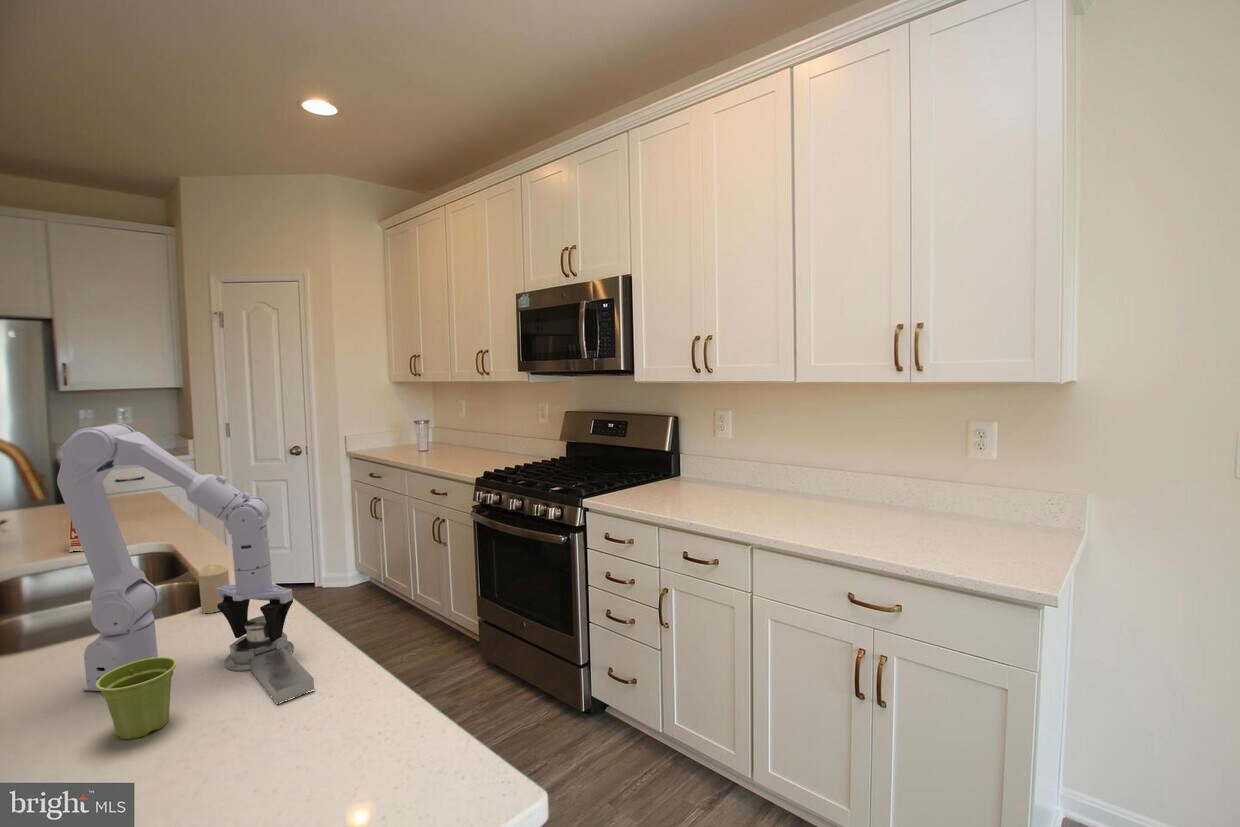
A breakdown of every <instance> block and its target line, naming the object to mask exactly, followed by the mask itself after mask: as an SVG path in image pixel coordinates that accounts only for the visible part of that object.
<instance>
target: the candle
mask: <svg viewBox="0 0 1240 827" xmlns="http://www.w3.org/2000/svg"><path fill="white" fill-rule="evenodd" d="M197 574H198V575H197V576H198V587H199V597H200V599H199V600H200V607H201V612H205V613H211V614H214V613H213V612H217V611H220V610H219V609H218V607H217V605H218V604H219V603H221V602H223V600H224V599H218V590H217V589H218V588H220V587H223V586H225V585H230V576H229V568H228V567H227V566H224V565H222V564H207V565H205V566H204V567H203V568H202V569H201V571H200V572H199V573H197ZM205 613H204V614H205ZM217 613H218V612H217Z"/></svg>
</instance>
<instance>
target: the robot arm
mask: <svg viewBox="0 0 1240 827" xmlns="http://www.w3.org/2000/svg"><path fill="white" fill-rule="evenodd" d="M60 451H61V453H62V458H61V463H60V467H59V470H58V474H57V480H56V483H57V486H58V490H59V492H60V494H61V497H62V499H63V502H64V505H65V508H66V510H67V513H68V515H69V519H70V518H71V520H72V523H73V526H74V528H75V531H76V533H77V536H78V538H79V541H80V544H81V546H82V549H83V551H84V552H83V553H84V556H85V559H86V562H87V564H88V566H89V569H90V572H91V574H92V577H93V579H94V582H93V586H92V589H91V592H90V595H89V599H90V603H91V605H92V611H91V613H90V614H91V615H90V621H91V623H92V625H93V627H94V628H95V629H96V630H97V631H98V632H101V633H100V634H99V636H98V637H97V638H96V639H95V640H94V641H91V643H89V644H88V645H87V646H86V648H85V650H84V653H83V660H84V661H83V662H84V669H85V671H84V672H85V679H86V685H84V686H83V687H82V690H83V691H92V692H93V691H94V692H95V691H96V692H97V691H98V692H101V691H100V690H98V689H97V688H96V682H97V680H98V679H99V678H101V677H102V676H103V675H105V674H106V673H108V672H110V671H112V670H114V669H116V668H118V667H121V666H123V665H126V664H129V663H132V662H135V661H139V660H144V659H148V658H155V657H159V654H158V645H157V644H158V643H157V634H156V633H157V632H156V623H155V615H154V614H153V609H154V608H155V606H156V605H157V603H158V602H159V595H160V594H159V591H158V589H157V587H156V586H155V585H154V584H153V583H151V581H149V580H148V579H147V577H146V574H145V571H143V570H142V569H140V568H138V567H136V566H135V565H134V563H133V561H132V558H131V556H130V553H129V550H128V548H127V545H126V542H125V539H124V537H123V535H122V532H121V528H120V527H119V524H118V521H117V518H116V515H115V513H114V510H113V508H112V507H113V506H112V505H111V502H110V500H109V497H108V494H107V492H106V489H105V487H104V484H103V482H104V480H105V479H106V478H107V476H109V474H110V473H111V471H112V470H113V469H114V467H115V466H139V467H142V468H144V469H146V470H148V471H150V472H151V473H153V474H155V475H156V476H159V477H161V478H163V479H164V480H167V481H168V482H170V483H172V484H173V485H176V486H177V487H179V488H181V489H183V490H184V491H185V493H186V494H185V495H186V499H187V501H188V502H190V503H191V504H192V505H195V506H196V507H198V508H200V509H201V510H203V511H204V512H206V513H208V514H210V515H211V516H213V517H215V518H216V519H218V520H220V521H223V523H224V527H225V529H226V530H227V531H228V533H230V534H231V541H232V542H231V548H232V549H231V550H232V562H233V571H234V572H233V573H234V584H229V585H225V586H223V587H220V588H218V589H217V590H218V599H224V600H223V602H221V603H219V604H218V605H217V607H218V609H219V610H220V611H221V612H220V613H222V614H223V616H224V617H225V619H226V621H227V622H228V623H229V624H228V625H229V626H230V628H231V631H232V633H233V636H234V638H235V639H239V638H241V637H243V636H246V635H247V631H246V629H245V627H244V624H245V622H247V621H248V620H249V618H248V616H249V615H248V613H249V607H250V600H254V601H255V600H256V601H268V602H267V603H266V604H263V605H262V606H260V607H259V610H260V611H261V613H262V616H264V617H265V620H266V623H267V629H268V636H269V639H270V641H275V640H277V639H279V638H280V637H282V631H283V632H284V627H285V621H286V618H287V615H288V612H289V611H290V608H291V606H292V605H293V602H294V597H293V589H292V588H287V587H282V586H280V585H276V584H274V583H273V576H272V565H271V564H272V563H271V553H270V552H271V551H270V539H269V536H268V535H269V534H268V525H267V524H266V523H267V522H268V520H269V518H270V515H271V510H270V506H269V505H268V503H267V502H265V501H264V499H263V498H261V497H260V496H259V497H258V496H251V494H250V493H249V492H248V491H245V492H243V491H241V490H239V489H237V488H236V487H234V486H233V485H231V484H229V483H228V482H227V477H225V476H224V475H222V474H220V475H218V476H217V475H216V474H214V473H207V474H200V473H198V472H197V471H195V470H194V469H192V468H191V467H190V466H188V465H187V464H186V463H184V462H182V461H181V460H180V459H178V457H176V456H174V455H172V454H171V453H170V452H168V451H167V450H165V449H164V448H162V447H161V446H159V445H158V444H157V443H155V442H154V441H152V439H150V438H149V437H148V436H147V435H146V434H144V433H142V432H139V431H135V429H133V428H132V427H131V426H129V425H127V424H125V423H120V422H112V423H108V424H106V425H99V426H94V427H92V426H90V427H84V428H80V429H78V430H76V431H75V432H73V433H72V434H71V435H70V436H69V437H68V439H67V440H66V441H65V442H64V443H62V445H61V446H60Z"/></svg>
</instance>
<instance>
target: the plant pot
mask: <svg viewBox="0 0 1240 827" xmlns="http://www.w3.org/2000/svg"><path fill="white" fill-rule="evenodd" d="M176 668H177V660H176V659H175V658H174V657H170V656H169V657H167V656H158V657H155V658H148V659H144V660H139V661H135V662H132V663H129V664H126V665H123V666H121V667H118V668H116V669H114V670H112V671H110V672H108V673H106V674H105V675H103V676H102V677H101V678H99V679H98V680H97V682H96V688H97V689H98V690H100V691H99V692H100V693H101V695H102V697H104V700H105V702H106V704H107V707H108V711H109V714H110V716H111V720H112V723H113V726H114V729H115V733H116V736H118V737H119V738H120V739H122V740H131V739H132V738H133V739H137V737H138V738H142V737H144V736H147V735H148V734H149V733H150V732H153V731H155V730H156V731H157V730H160V729H162V728H163V727H164V726H165V725H166V724H167V723H168V722H169V719H170V704H171V692H172V691H171V688H172V677H173V676H174V669H176ZM141 736H142V737H141Z"/></svg>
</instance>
